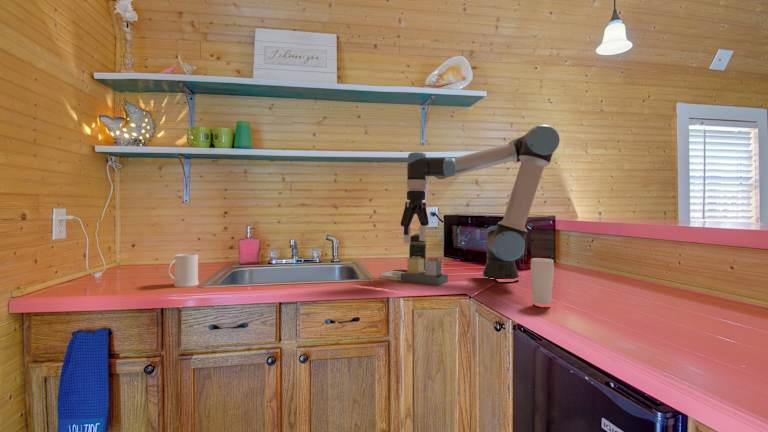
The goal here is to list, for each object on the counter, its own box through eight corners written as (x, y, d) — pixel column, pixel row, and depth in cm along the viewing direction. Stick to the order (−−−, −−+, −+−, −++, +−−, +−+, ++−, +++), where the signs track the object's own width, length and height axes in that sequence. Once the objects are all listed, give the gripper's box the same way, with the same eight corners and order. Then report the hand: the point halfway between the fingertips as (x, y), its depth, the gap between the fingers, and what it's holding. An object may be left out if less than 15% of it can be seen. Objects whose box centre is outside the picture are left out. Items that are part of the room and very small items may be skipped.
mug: (173, 289, 137) (173, 257, 137) (161, 287, 142) (160, 255, 141) (203, 284, 147) (203, 254, 147) (190, 281, 152) (190, 252, 151)
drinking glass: (546, 303, 121) (547, 257, 121) (557, 309, 114) (558, 260, 114) (526, 303, 121) (527, 257, 120) (535, 309, 114) (536, 260, 114)
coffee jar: (425, 274, 172) (425, 234, 172) (408, 273, 173) (408, 234, 173) (426, 271, 181) (426, 233, 181) (410, 270, 183) (410, 233, 182)
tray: (410, 278, 162) (410, 272, 162) (397, 282, 153) (397, 276, 153) (392, 276, 167) (392, 270, 167) (379, 280, 158) (379, 274, 157)
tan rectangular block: (423, 279, 154) (423, 256, 154) (418, 281, 150) (418, 257, 150) (412, 278, 157) (413, 255, 156) (407, 280, 152) (407, 256, 152)
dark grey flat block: (447, 284, 150) (447, 274, 150) (438, 288, 143) (438, 278, 143) (411, 279, 159) (411, 270, 159) (400, 283, 152) (400, 273, 152)
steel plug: (441, 282, 150) (441, 258, 149) (436, 284, 145) (436, 259, 145) (430, 280, 152) (430, 257, 152) (424, 282, 148) (424, 258, 148)
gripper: (421, 191, 165) (420, 239, 165) (392, 189, 144) (391, 243, 144) (437, 191, 161) (436, 240, 161) (409, 188, 140) (408, 244, 140)
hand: (414, 242), depth 153 cm, fingers open, 13 cm apart
